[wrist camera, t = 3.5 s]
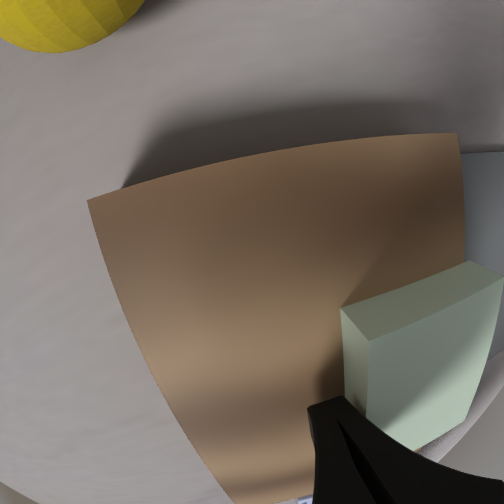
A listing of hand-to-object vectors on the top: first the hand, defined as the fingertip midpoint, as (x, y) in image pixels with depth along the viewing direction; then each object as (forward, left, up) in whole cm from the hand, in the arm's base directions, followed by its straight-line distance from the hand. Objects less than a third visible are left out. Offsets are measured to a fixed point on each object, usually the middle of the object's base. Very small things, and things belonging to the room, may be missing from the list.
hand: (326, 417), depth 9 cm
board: (0, -1, -4) cm, 4 cm away
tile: (0, -4, -1) cm, 4 cm away
